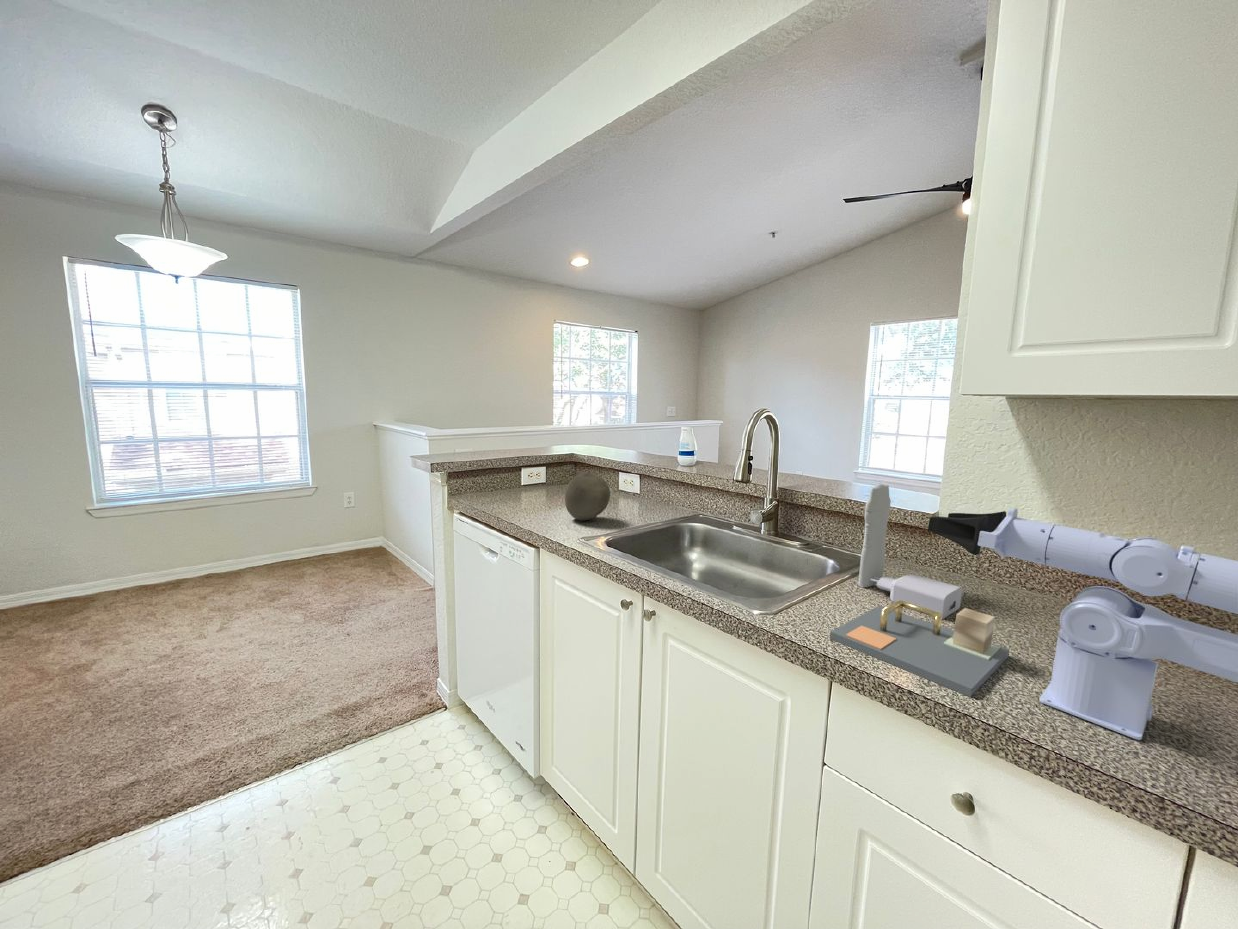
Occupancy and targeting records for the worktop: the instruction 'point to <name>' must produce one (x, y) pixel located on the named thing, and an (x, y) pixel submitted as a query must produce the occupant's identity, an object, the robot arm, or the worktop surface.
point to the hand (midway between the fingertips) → (939, 521)
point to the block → (973, 630)
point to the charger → (922, 592)
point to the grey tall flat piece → (874, 536)
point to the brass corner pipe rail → (899, 609)
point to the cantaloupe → (586, 496)
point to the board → (921, 650)
